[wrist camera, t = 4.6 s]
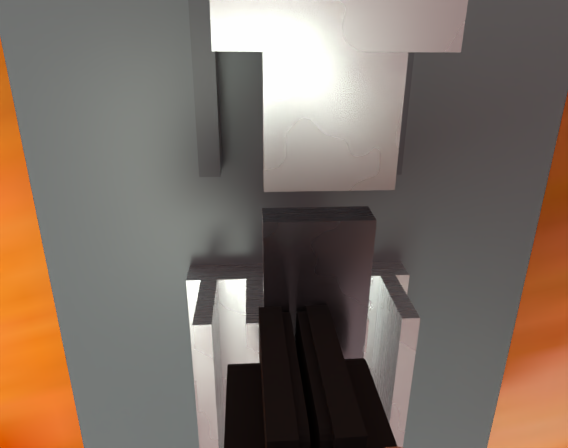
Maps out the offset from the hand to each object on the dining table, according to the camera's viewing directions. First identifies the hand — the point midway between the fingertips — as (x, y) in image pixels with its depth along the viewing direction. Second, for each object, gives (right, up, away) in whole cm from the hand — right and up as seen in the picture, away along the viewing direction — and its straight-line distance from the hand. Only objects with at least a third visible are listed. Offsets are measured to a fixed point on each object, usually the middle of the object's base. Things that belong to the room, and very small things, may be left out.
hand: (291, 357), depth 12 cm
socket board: (0, +2, +6) cm, 6 cm away
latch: (0, +9, +1) cm, 9 cm away
